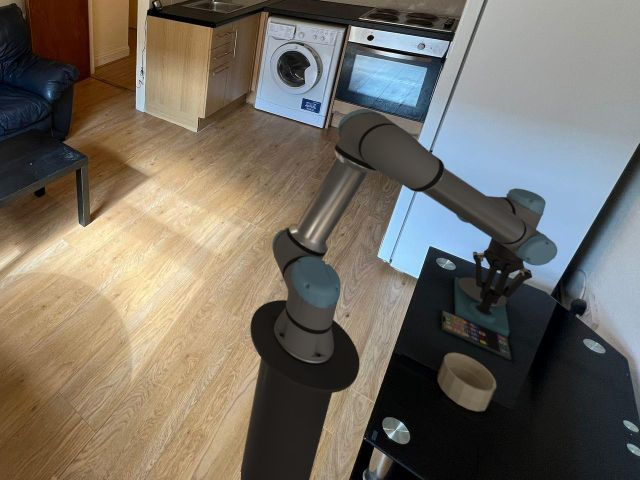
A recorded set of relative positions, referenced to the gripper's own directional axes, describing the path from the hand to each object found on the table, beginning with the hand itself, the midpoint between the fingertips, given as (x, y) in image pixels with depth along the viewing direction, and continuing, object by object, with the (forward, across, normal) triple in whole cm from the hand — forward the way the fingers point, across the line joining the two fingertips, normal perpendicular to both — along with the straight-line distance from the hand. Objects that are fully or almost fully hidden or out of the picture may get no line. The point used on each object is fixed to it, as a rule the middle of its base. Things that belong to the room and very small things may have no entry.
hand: (484, 308), depth 119 cm
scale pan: (+1, 0, +9) cm, 9 cm away
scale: (+4, 0, +6) cm, 7 cm away
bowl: (+4, -5, -32) cm, 33 cm away
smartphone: (+4, -2, -8) cm, 10 cm away
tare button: (+2, 0, 0) cm, 2 cm away
